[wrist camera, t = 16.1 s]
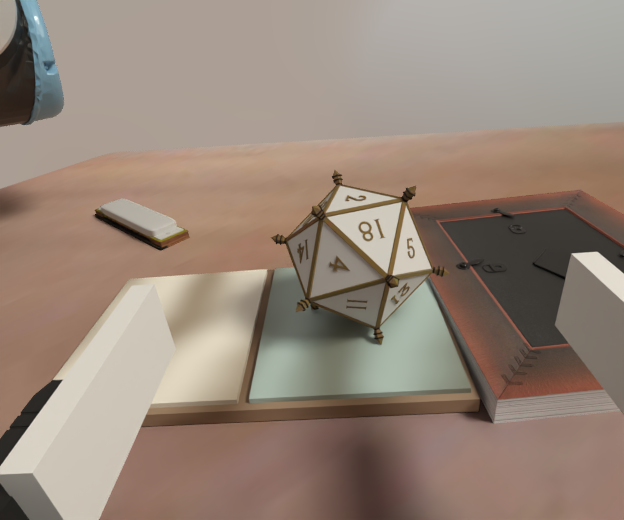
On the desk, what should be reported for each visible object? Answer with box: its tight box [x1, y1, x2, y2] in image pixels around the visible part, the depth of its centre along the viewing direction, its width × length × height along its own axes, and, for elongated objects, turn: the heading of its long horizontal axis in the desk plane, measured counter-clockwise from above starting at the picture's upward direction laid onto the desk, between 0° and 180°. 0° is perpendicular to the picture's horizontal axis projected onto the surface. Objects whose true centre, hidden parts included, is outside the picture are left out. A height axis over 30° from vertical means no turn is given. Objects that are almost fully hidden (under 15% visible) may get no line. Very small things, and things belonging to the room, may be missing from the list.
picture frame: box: [410, 190, 624, 423], centre depth 28 cm, size 16×2×22 cm
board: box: [53, 267, 480, 427], centre depth 26 cm, size 22×13×1 cm, turn 88°
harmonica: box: [95, 199, 189, 250], centre depth 43 cm, size 15×3×2 cm, turn 47°
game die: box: [271, 171, 450, 345], centre depth 23 cm, size 9×8×10 cm
